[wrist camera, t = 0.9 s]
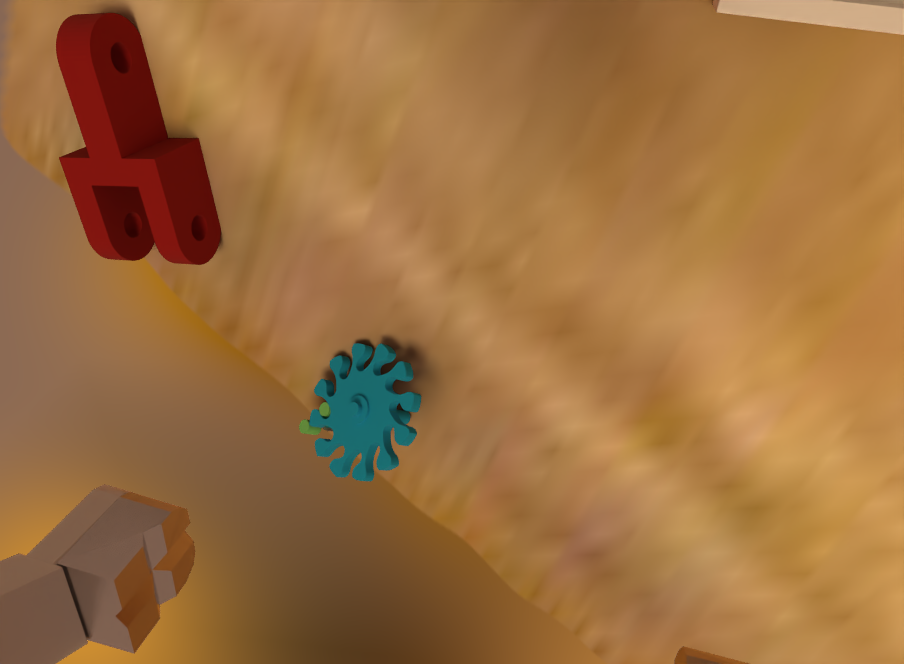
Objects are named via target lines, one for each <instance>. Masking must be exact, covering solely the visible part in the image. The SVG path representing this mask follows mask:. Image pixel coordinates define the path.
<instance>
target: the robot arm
mask: <svg viewBox="0 0 904 664" xmlns="http://www.w3.org/2000/svg"><path fill="white" fill-rule="evenodd" d="M189 524H190V519H189V515H188V511H187V509H185V508H182V507H179V506H175V505H172V504H169V503H165V502H162V501H159V500H156V499H152V498H149V497H146V496H142V495H139V494H136V493H133V492H129V491H126V490H123V489H119V488H116V487H112V486H109V485H102V486H100V487H98V488H96V489H94V490H92V492H90V494H88V495H87V496H86V497H85V498H84V499H83V500H82V501H81V502H80V503H79V504H78V505H77V506H76V507H75V508H74V509H73V510H72V511H71V512H70V513H69V514H68V515H67V516H66V517H65V518H64V519H63V520H62V521H61V522H60V523H59V524H58V525H57V526H56V527H55V528H54V529H53V530H52V531H51V532H50V533H49V534H48V535H47V536H46V537H45V538H44V539H43V540H42V541H41V542H40V543H39V544H38V545H36V547H35V548H33V550H31V551H30V553H28V554H27V555H22V554H16V555H14V556H11V557H9V558H7V559H5V560H2V561H0V664H56V663H57V662H59V661H61V660H62V659H64V658H65V657H67V656H68V655H70V654H72V653H73V652H74V651H76V650H78V649H79V648H81V647H82V646H84V645H86V644H87V642H88V641H87V640H90V641H93V642H97V643H100V644H104V645H107V646H110V647H114V648H117V649H121V650H124V651H127V652H131V653H135V652H136V651H137V649H138V648H139V647H140V645H141V644H142V643H143V641H144V640H145V638H146V637H147V635H148V634H149V633H150V632H151V630H152V629H153V627H154V626H155V625H156V623H157V622H158V621H159V619H160V604H162V603H164V602H166V601H168V600H170V599H171V598H173V597H175V596H177V594H178V593H179V592H180V590H181V589H182V587H183V586H184V584H185V583H186V581H187V579H188V577H189V574H190V572H191V570H192V567H193V565H194V557H195V546H194V541H193V540H192V539H191V537H190V536H189V535H188V534H187V533H186V531H185V529H186V528H187V527H188V525H189ZM674 664H749V663H745V662H741V661H738V660H734V659H730V658H726V657H722V656H718V655H715V654H711V653H707V652H703V651H699V650H696V649H692V648H688V647H684V646H683V647H682V648H680V649H679V651H678V653H677V655H676V657H675V660H674Z"/></svg>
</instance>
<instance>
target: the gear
mask: <svg viewBox="0 0 904 664" xmlns="http://www.w3.org/2000/svg"><path fill="white" fill-rule="evenodd" d="M372 351H373V349H372V347H371V346H367V345H364V344H359V343H357V344H354V345H353V347H352V355H353V362H352V367H351V370H350V373H349V375H348V377H347V372H348V369H349V366H350V360H349V358H348V357H345V356H341V355H340V356H337V357H335V358H333V359H332V360H331V361H330V368H331V369H332V371H333V372H334V374H335V377H336V393H335V394H334V384H333V382H332V381H330V380H325V379H321V380H320V381H319V382H318V384H317V385H316V387H315V389H314V392H315V394H316V395H317V396H321V397H323V398H324V399H325V400H326V401H327V402H324V403H322V404H321V405H320V408H319V410H317V409H314V410H312V412H311V416H310V420H302V421H301V423H300V426H299V429H300V432H302V433H305V434H314V435H317V434H319V433H320V431H321V428H322V427H323V429H324V430H327V431H333V433H334V435H333V438H332V440H330V439H321V438H319V439H318V440H316V441H315V449H316V453H317V456H322V457H329V456H330V455H331V454H332V453H333V451H334V450H335V449H336V448H338V447H340V446H344V448H345V453H344V456H343V457H341V458H339V459H334V460H333V461H332V462H331V463H330V469H331V471H332V472H333V474H334V475H335V476H336V477H346V476H348V474H349V472H350V468H351V465H352V463H353V461H354V459H355V458H356V456H357V455H358V454H359V453H361V454H362V459H361V461H360V463H359V464H358V465H356V466H355V468H354V469H353V473H352V476H353V478H354V479H356V480H360V481H372V480H373V478H374V469H373V460H374V455H375V452H376V450H377V447H378V446H380V453H379V456H378V458H377V468H378V469H379V470H392V469H394V468H396V467H397V466H398V465H399V460H398V457H397V455H396V454H395V453H394V451H393V449H392V445H391V430H392V428H393V427H394V431H395V441H396V442H397V444H399V445H404V446H409V445H410V444H411V443H412V442H413V440H414V439H415V437H416V435H417V432H416V430H415V429H414V428H413V427H409V426H407V425H405V424H407V423H408V422H409V421H410V414H409V412H407V411H410V412H418V410H419V408H420V403H421V395H420V394H417V393H413V392H406V393H404V394H401V395H399V394H397V393H395V392H394V391H393V383H394V381H395V380H396V379H398V380H401V381H406V382H408V381H411V380H412V379H413V370H412V367H411V364H410V363H407V362H403V361H400V362H398V363H397V364H396V365H395V366H394V368H393V369H392V370H391V371H389V372H388V373H386V374H384V375H381V373H380V370H381V367H382V366H383V365H384V364H386V363H390V362H392V361H393V360H394V359H395V357H396V353H395V351H394V350H393V349H392V348H391V347H389V346H388V345H385V344H379V345H378V346H377V348H376V350H375V354H374V357H373V359H372V361H371V363H370V364H369V365H368V367H367V368H366V369H364V363H365V362H366V361H367V360H368V359H369V358H370V357H371V355H372ZM399 403H400V405H401V407H402V408H403V409H404V410H405V411H402V410H397V405H398V404H399Z"/></svg>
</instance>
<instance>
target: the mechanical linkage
mask: <svg viewBox="0 0 904 664" xmlns="http://www.w3.org/2000/svg"><path fill="white" fill-rule="evenodd" d="M56 52H57V59H58V63H59V66H60V69H61V72H62V75H63V78H64V81H65V84H66V87H67V90H68V93H69V96H70V99H71V102H72V106H73V109H74V112H75V115H76V118H77V121H78V124H79V127H80V130H81V133H82V136H83V139H84V142H85V145H86V147H84V148H82V149H79V150H77V151H74V152H72V153H69V154H67V155H64V156H61V157H59V159H60V162H61V165H62V168H63V171H64V173H65V176H66V179H67V182H68V185H69V188H70V190H71V193H72V196H73V199H74V202H75V205H76V207H77V210H78V213H79V216H80V219H81V222H82V224H83V227H84V230H85V233H86V236H87V238H88V241H89V243H90V245H91V246H92V248H93V249H94V250H95V251H96V252H97V253H98V254H99V255H100V256H102V257H104V258H107V259H115V260H132V261H135V260H139V259H142V258H143V257H145V256H146V255H147V254H148V253H149V252H150V250H151V249H152V247H153V245H154V242H155V244H156V246H157V249H158V250H159V252H160V253H161V255H162V256H163V257H164V258H165V259H166V260H168V261H169V262H172V263H179V264H196V265H201V264H205V263H207V262H208V261H209V260H210V259H211V258H212V257H213V256H214V254H215V253H216V251H217V248H218V245H219V242H220V236H221V227H220V223H219V219H218V215H217V211H216V207H215V203H214V199H213V195H212V191H211V187H210V182H209V178H208V174H207V170H206V166H205V162H204V158H203V154H202V150H201V146H200V142H199V138H168V136H167V132H166V128H165V124H164V121H163V117H162V113H161V109H160V106H159V102H158V98H157V94H156V91H155V87H154V83H153V79H152V76H151V72H150V68H149V65H148V61H147V57H146V53H145V50H144V46H143V42H142V38H141V35H140V33H139V32H138V30H137V29H136V28H135V26H134V25H133V24H132V23H131V22H130V21H129V20H128V19H126V18H125V17H123V16H122V15H119V14H116V13H98V14H77V15H72V16H70V17H68V18H67V19H66V20H65V21H64V22H63V23H62V25H61V26H60V28H59V31H58V34H57V40H56Z"/></svg>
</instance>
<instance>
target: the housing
mask: <svg viewBox="0 0 904 664" xmlns="http://www.w3.org/2000/svg"><path fill="white" fill-rule="evenodd" d="M712 5H713V7H714V9H715V11H716V12H718V13H726V14H734V15H743V16H751V17H760V18H768V19H776V20H785V21H793V22H801V23H810V24H818V25H827V26H835V27H843V28H852V29H860V30H869V31H877V32H885V33H894V34H902V35H904V0H713V4H712Z"/></svg>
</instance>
